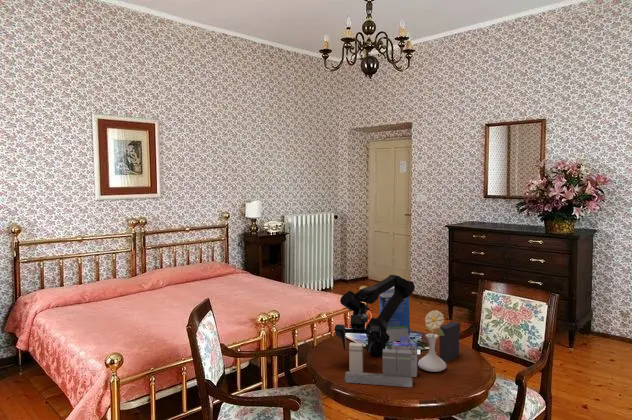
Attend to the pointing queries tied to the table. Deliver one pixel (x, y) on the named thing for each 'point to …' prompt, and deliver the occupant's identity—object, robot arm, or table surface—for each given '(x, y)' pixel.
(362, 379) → the rail
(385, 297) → the string lights box
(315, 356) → the table surface
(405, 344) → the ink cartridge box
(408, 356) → the block
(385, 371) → the block
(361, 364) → the block
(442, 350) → the dark grey box
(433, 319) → the flower in vase
